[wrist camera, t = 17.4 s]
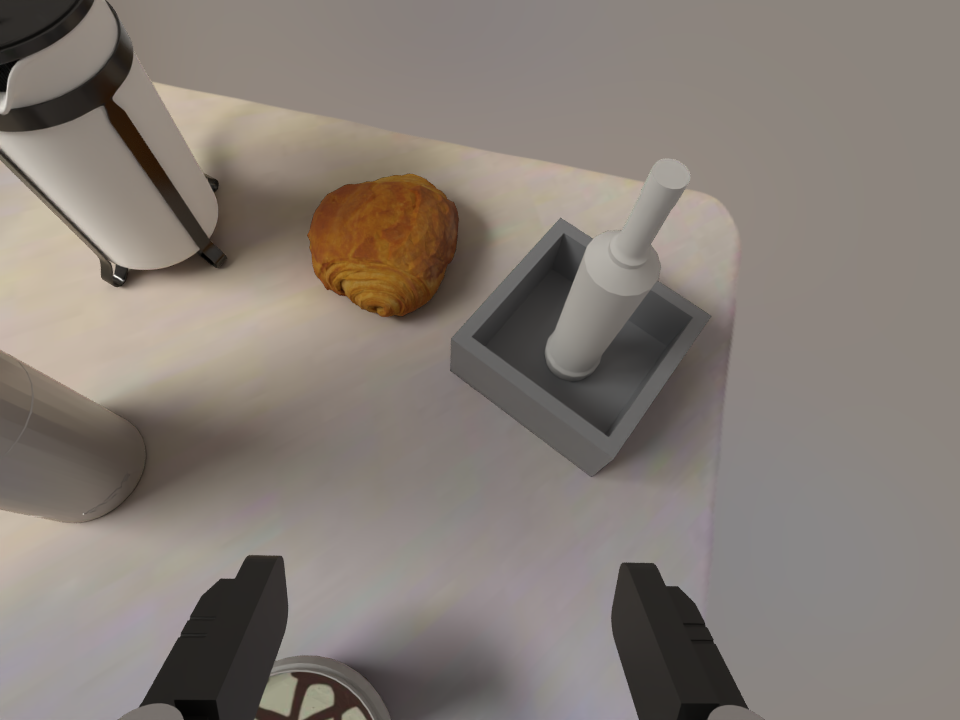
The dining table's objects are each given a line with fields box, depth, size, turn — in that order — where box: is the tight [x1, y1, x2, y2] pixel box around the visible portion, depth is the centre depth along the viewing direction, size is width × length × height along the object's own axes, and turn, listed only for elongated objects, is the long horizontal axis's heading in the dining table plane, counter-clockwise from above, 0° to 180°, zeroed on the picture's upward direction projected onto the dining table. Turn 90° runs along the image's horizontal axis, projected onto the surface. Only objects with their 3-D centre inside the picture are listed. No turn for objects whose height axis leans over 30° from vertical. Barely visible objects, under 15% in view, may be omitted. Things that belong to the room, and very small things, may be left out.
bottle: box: [545, 159, 690, 381], centre depth 41 cm, size 5×5×25 cm
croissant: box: [307, 174, 459, 317], centre depth 54 cm, size 14×16×8 cm
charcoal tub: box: [450, 218, 711, 477], centre depth 50 cm, size 16×16×7 cm
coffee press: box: [0, 0, 227, 287], centre depth 43 cm, size 17×16×30 cm
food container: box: [254, 656, 391, 720], centre depth 37 cm, size 12×6×10 cm, turn 93°
